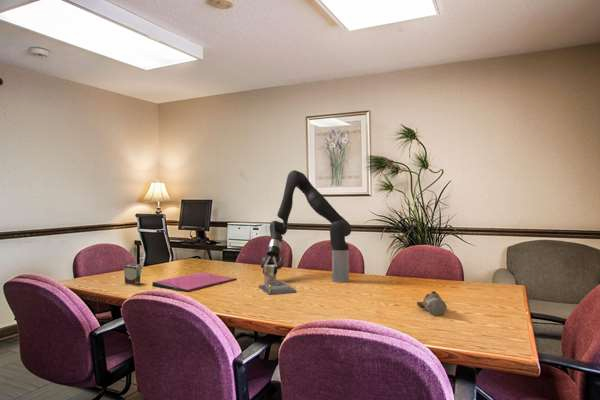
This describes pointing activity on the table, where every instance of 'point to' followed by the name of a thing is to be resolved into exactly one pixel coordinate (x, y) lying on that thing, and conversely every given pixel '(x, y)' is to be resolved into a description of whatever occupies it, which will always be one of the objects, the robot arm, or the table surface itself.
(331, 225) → the robot arm
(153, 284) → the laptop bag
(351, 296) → the table surface
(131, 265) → the food container
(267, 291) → the fixture plate
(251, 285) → the table surface
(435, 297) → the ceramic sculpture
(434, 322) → the table surface
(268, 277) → the birch block
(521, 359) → the table surface
